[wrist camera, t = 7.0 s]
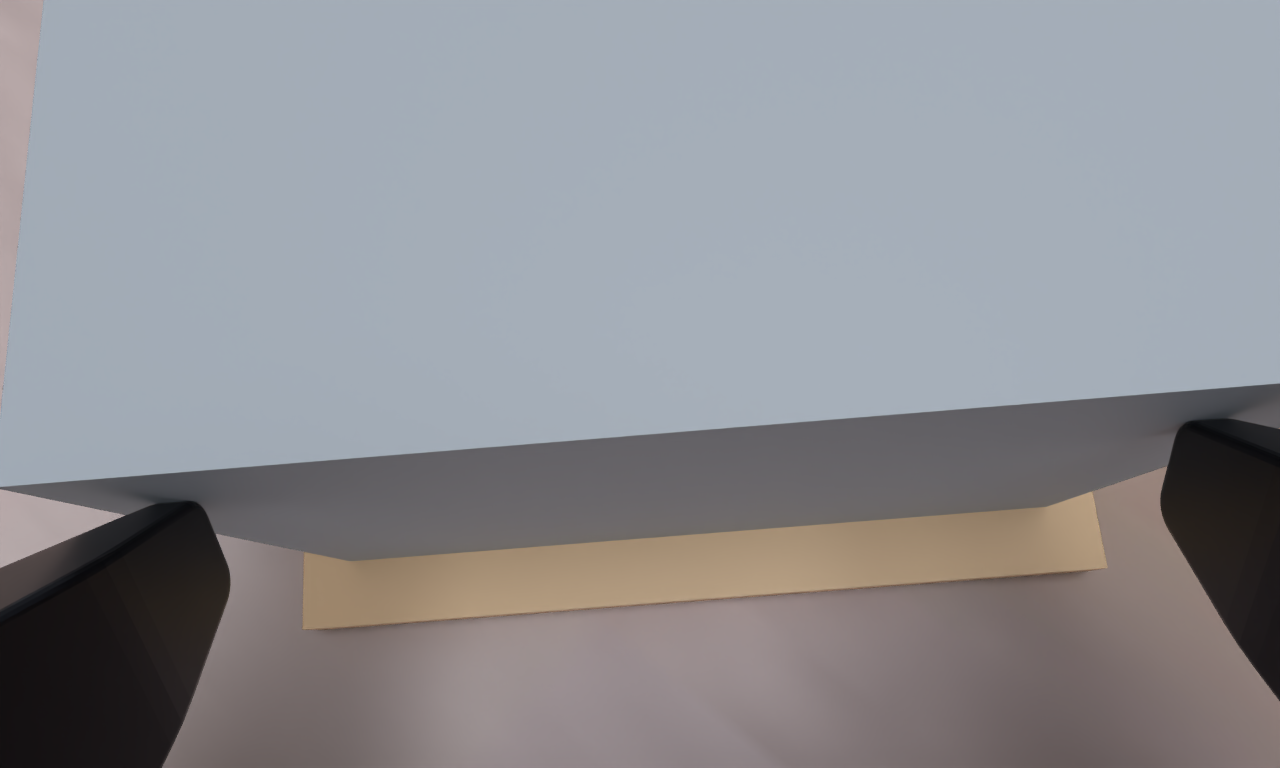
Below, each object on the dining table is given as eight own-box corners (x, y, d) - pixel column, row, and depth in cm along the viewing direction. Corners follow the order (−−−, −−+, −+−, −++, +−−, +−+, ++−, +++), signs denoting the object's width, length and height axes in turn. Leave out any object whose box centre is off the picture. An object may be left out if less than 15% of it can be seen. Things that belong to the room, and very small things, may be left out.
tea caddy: (1080, 571, 15) (1600, 496, 7) (326, 630, 16) (-121, 629, 7) (962, -49, 18) (1212, -655, 10) (333, 9, 19) (30, -528, 10)
